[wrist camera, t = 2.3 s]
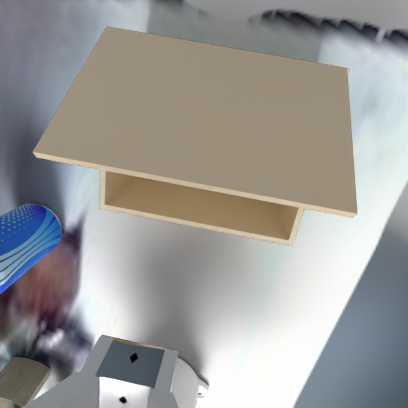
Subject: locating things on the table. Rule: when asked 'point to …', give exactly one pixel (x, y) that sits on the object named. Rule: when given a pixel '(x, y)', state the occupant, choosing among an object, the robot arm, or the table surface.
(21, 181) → the table surface
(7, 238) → the beer can
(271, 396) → the table surface
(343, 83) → the carton flap
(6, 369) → the padlock
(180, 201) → the carton
